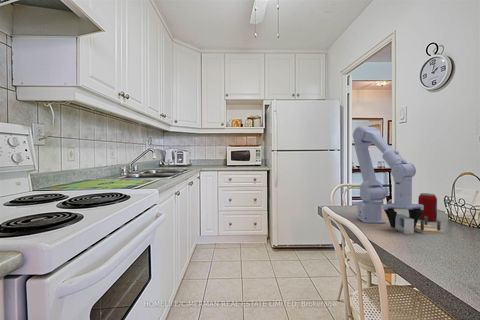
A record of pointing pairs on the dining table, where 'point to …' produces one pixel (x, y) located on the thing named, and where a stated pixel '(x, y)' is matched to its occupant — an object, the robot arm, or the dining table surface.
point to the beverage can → (428, 206)
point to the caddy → (428, 227)
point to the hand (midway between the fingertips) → (402, 227)
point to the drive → (404, 224)
